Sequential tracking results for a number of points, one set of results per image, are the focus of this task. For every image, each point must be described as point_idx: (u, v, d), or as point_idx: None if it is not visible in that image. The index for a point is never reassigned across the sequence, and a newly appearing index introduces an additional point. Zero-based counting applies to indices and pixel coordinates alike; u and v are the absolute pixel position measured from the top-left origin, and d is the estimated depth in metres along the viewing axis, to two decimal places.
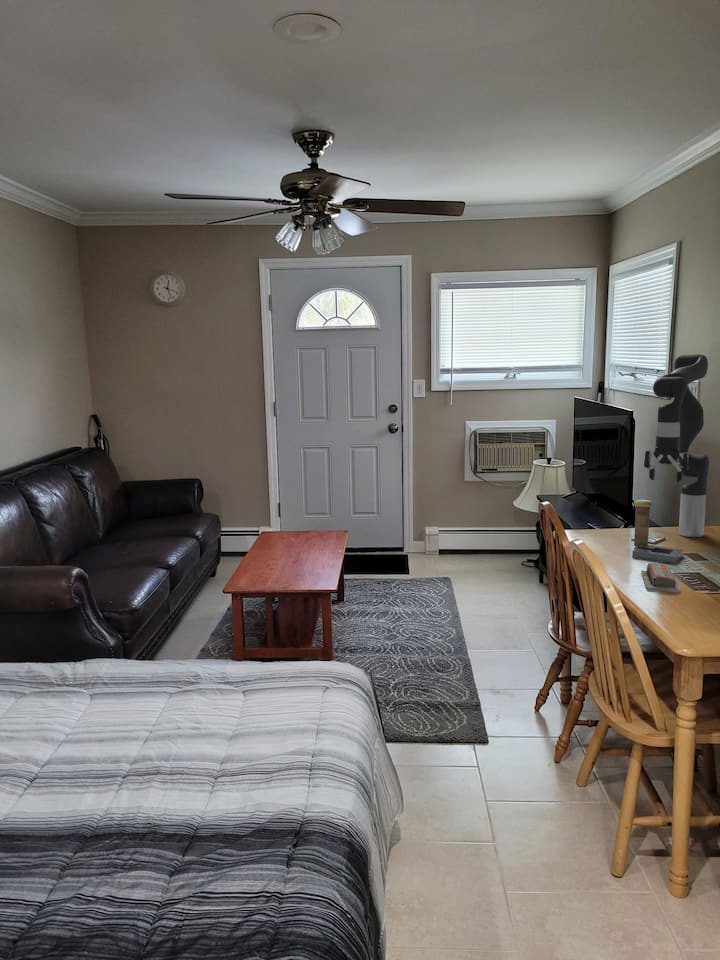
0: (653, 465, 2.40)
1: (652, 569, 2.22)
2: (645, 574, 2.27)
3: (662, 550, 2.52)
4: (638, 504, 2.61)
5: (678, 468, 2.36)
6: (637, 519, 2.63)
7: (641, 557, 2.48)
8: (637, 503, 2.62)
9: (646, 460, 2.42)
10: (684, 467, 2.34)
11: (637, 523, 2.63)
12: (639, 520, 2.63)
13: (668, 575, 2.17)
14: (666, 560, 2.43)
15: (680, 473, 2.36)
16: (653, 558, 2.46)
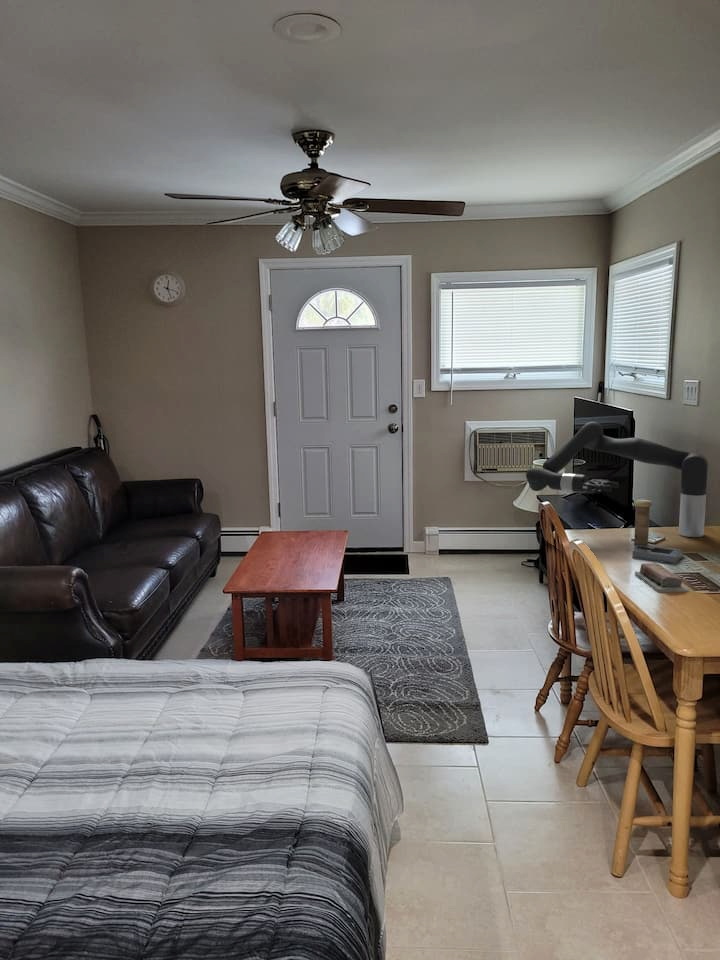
0: None
1: (653, 570, 2.22)
2: (642, 575, 2.26)
3: (662, 550, 2.52)
4: (638, 504, 2.61)
5: None
6: (637, 519, 2.63)
7: (641, 557, 2.48)
8: (637, 503, 2.62)
9: None
10: None
11: (637, 523, 2.63)
12: (639, 520, 2.63)
13: (673, 575, 2.17)
14: (666, 560, 2.43)
15: (602, 489, 2.67)
16: (653, 558, 2.46)
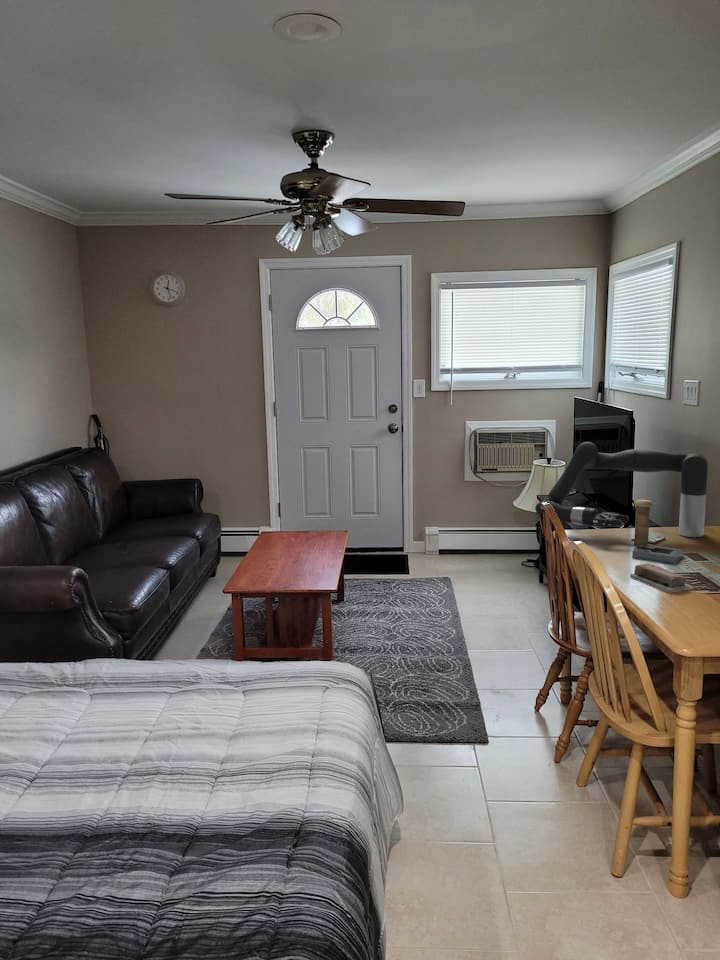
0: None
1: (654, 571, 2.21)
2: (640, 577, 2.25)
3: (662, 550, 2.52)
4: (638, 504, 2.61)
5: None
6: (637, 519, 2.63)
7: (641, 557, 2.48)
8: (638, 503, 2.62)
9: None
10: None
11: (638, 523, 2.63)
12: (639, 520, 2.63)
13: (676, 574, 2.18)
14: (666, 560, 2.43)
15: (612, 524, 2.67)
16: (653, 558, 2.46)
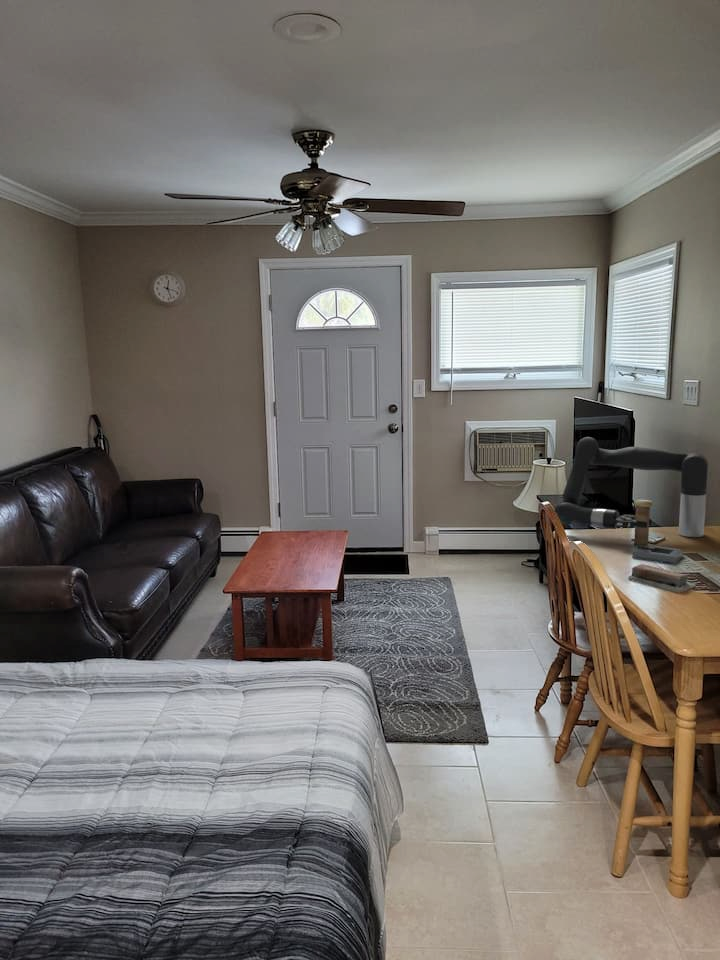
0: None
1: (656, 571, 2.20)
2: (640, 578, 2.23)
3: (662, 550, 2.52)
4: (638, 504, 2.61)
5: None
6: (637, 519, 2.63)
7: (641, 557, 2.48)
8: (638, 503, 2.62)
9: None
10: None
11: None
12: (639, 520, 2.63)
13: (677, 573, 2.19)
14: (666, 560, 2.43)
15: (638, 526, 2.62)
16: (653, 558, 2.46)
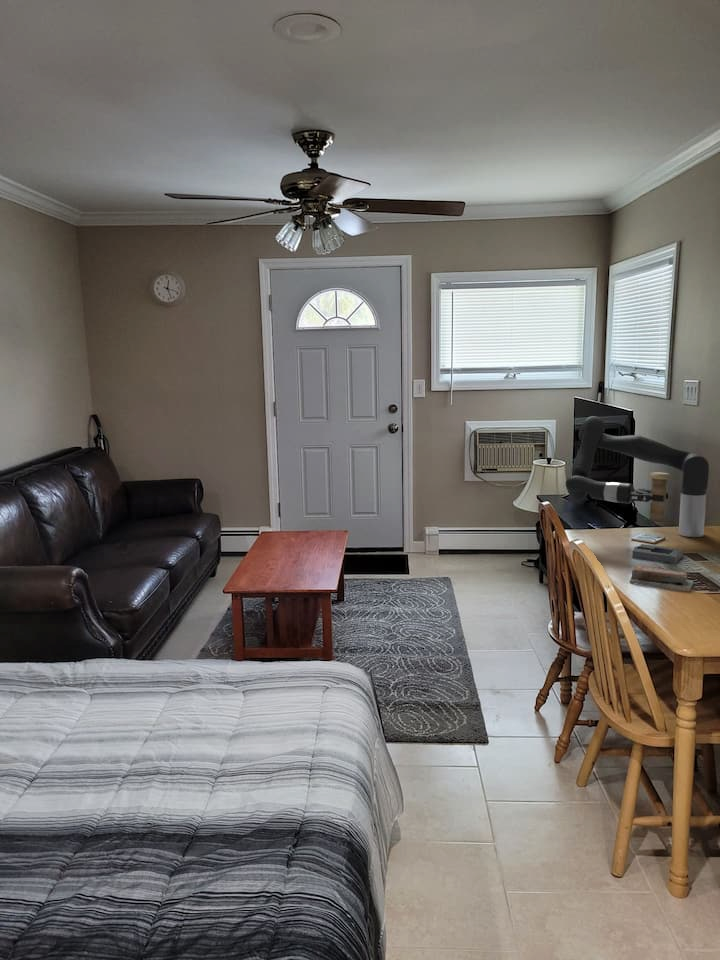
0: None
1: (659, 572, 2.19)
2: (643, 581, 2.21)
3: (662, 550, 2.52)
4: (654, 476, 2.46)
5: None
6: (653, 492, 2.48)
7: (641, 557, 2.48)
8: (654, 475, 2.46)
9: None
10: None
11: None
12: (655, 494, 2.48)
13: (677, 571, 2.20)
14: (666, 560, 2.43)
15: (654, 499, 2.47)
16: (653, 558, 2.46)
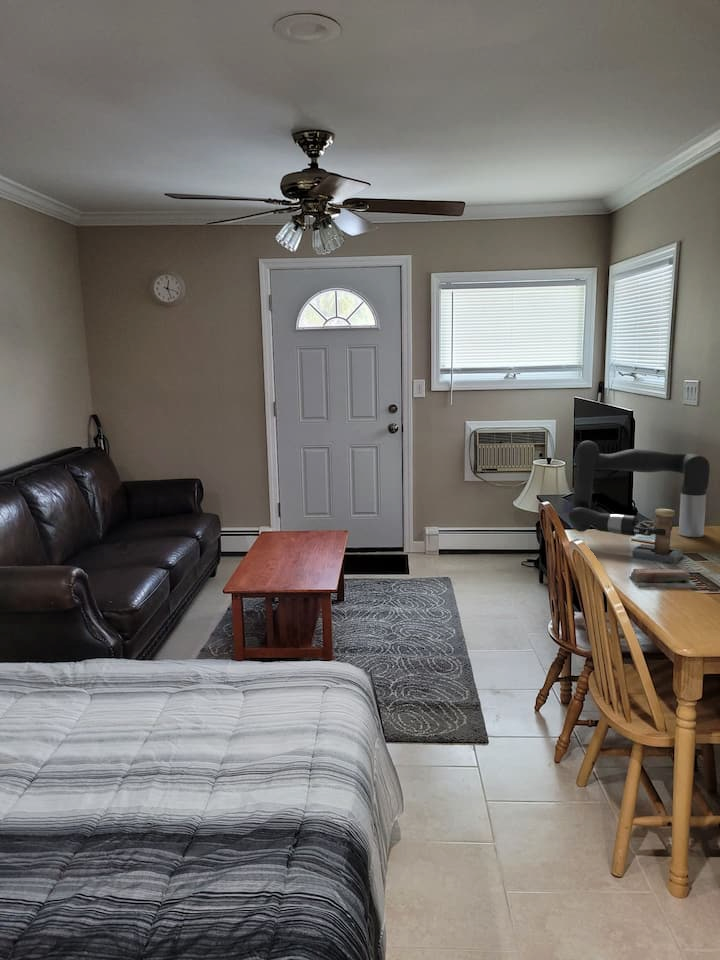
0: None
1: (662, 572, 2.19)
2: (649, 583, 2.18)
3: None
4: (660, 513, 2.45)
5: None
6: None
7: (641, 557, 2.48)
8: (659, 512, 2.45)
9: None
10: None
11: None
12: None
13: None
14: (666, 560, 2.43)
15: (655, 533, 2.45)
16: (653, 558, 2.46)
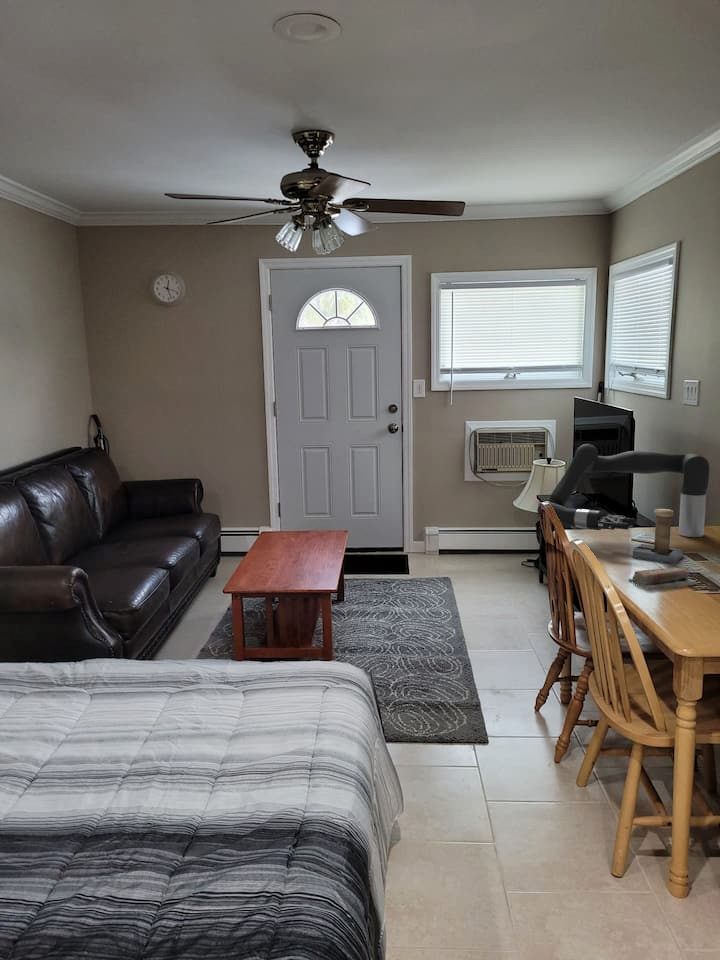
0: None
1: (665, 572, 2.19)
2: (656, 585, 2.17)
3: None
4: (659, 514, 2.45)
5: None
6: (657, 530, 2.47)
7: (641, 557, 2.48)
8: (658, 512, 2.45)
9: None
10: None
11: (658, 534, 2.47)
12: (660, 531, 2.46)
13: (669, 568, 2.24)
14: (666, 560, 2.43)
15: (619, 527, 2.53)
16: (653, 558, 2.46)
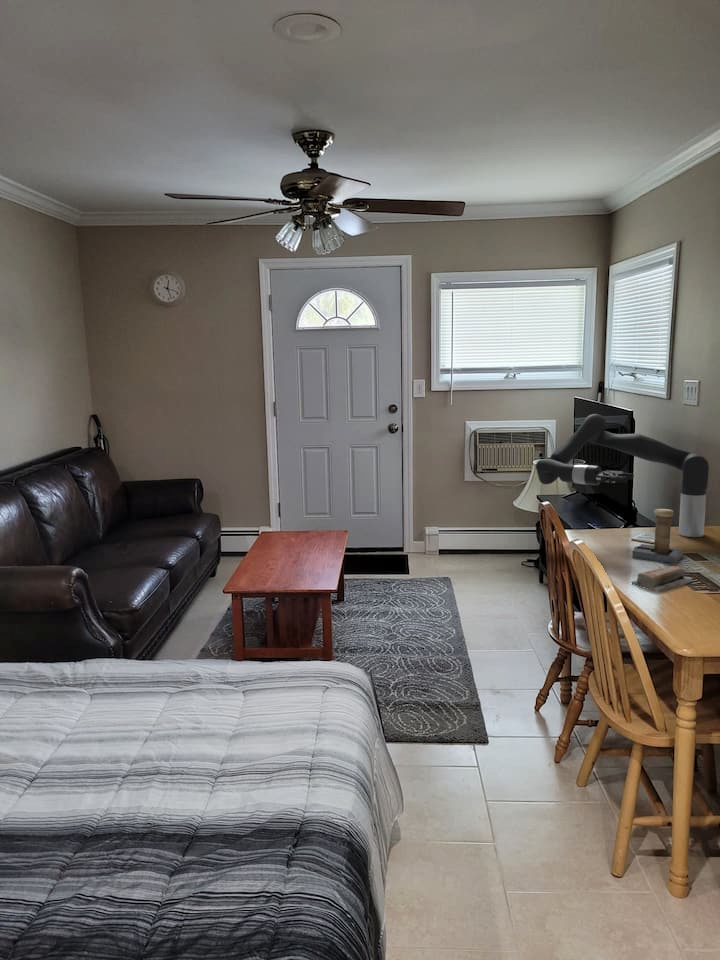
0: None
1: (667, 572, 2.19)
2: (663, 585, 2.16)
3: None
4: (659, 514, 2.45)
5: None
6: (657, 530, 2.47)
7: (641, 557, 2.48)
8: (658, 512, 2.45)
9: None
10: None
11: (658, 534, 2.47)
12: (660, 531, 2.46)
13: (665, 567, 2.25)
14: (666, 560, 2.43)
15: None
16: (653, 558, 2.46)
